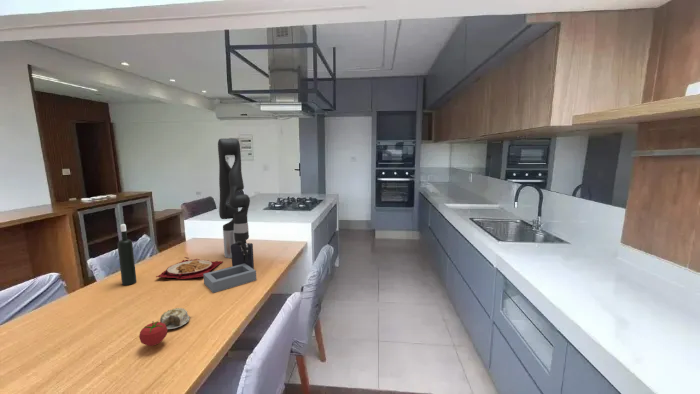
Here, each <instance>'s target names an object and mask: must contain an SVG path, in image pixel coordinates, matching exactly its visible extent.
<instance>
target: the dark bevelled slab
mask: <svg viewBox="0 0 700 394" xmlns="http://www.w3.org/2000/svg"><path fill="white" fill-rule="evenodd" d="M248 243H249V249H250V254H248V261H246V262H244V258H243V252H242V251H241V248H240V247H239V244H237V243H234V244H232V245H231V253H232V258H231V264H232V265H231V267H232V266H236V265H240V264H244V263H245V264H247V265H248V266H250V267H251V268H253V269H254V270H255V263H254V261H255V260H254V243H250V242H248ZM243 249H244V248H243Z"/></svg>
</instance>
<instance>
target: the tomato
mask: <svg viewBox="0 0 700 394" xmlns="http://www.w3.org/2000/svg"><path fill="white" fill-rule="evenodd" d="M168 330H169V329H167V327H166V325H165V324H164V323H161V322H160V321H159V320H158V321H155V322H154V321H152V322H151V323H148V324H146V325H145V326H143V328H142V329H141V330H140V331H139V335H138V339H139V340H140V343H141V344H143V345H145V346H147V347H153V346H156V345H158V344H160V343H161V342H162V341H164V340H165V338H166V336H167V335H168Z"/></svg>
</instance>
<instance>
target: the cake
mask: <svg viewBox="0 0 700 394" xmlns="http://www.w3.org/2000/svg"><path fill="white" fill-rule="evenodd" d="M189 321H190V316H189V314H188V311H187V310H186V309H185V308H182V307H175V308H172V309H170V310H169V309H168V310H167V311H164V312H163V314H161V316H160V320H159V322H161V323H164V324H165V325H166V327H167V329H168V330H172V329H177V328H180V327H182V326H183V325H185V324H187V323H188V322H189Z"/></svg>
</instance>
